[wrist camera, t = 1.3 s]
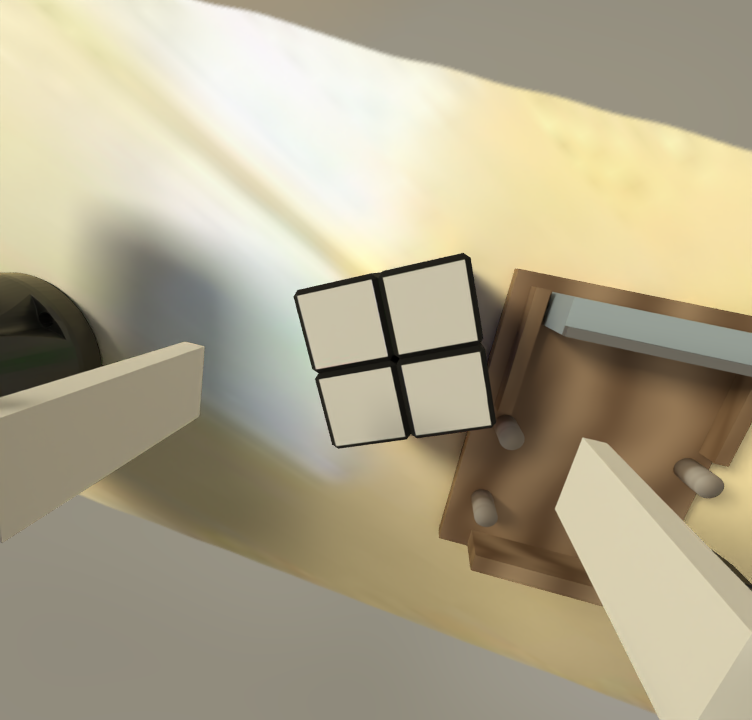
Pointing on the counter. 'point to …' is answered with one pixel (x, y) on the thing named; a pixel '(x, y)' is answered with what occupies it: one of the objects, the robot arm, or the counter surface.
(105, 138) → the counter surface
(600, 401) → the base
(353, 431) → the puzzle cube
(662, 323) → the bar
